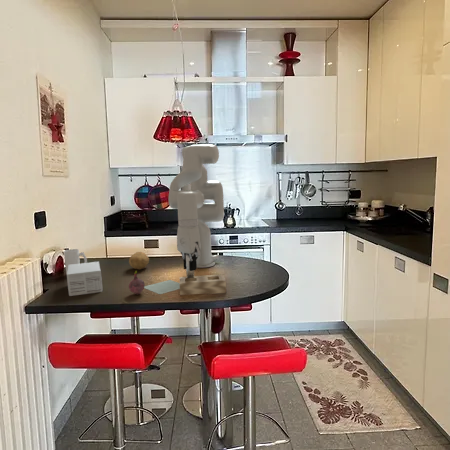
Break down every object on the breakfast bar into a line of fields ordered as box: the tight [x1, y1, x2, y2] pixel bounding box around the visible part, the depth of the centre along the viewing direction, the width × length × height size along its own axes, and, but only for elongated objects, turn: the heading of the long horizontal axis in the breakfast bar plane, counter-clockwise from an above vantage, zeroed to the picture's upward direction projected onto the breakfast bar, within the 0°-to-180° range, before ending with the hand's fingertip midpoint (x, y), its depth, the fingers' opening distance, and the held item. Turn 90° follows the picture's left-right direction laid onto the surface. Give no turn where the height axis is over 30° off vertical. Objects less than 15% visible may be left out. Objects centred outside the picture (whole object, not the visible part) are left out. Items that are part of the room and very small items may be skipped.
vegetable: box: [128, 270, 146, 295], centre depth 149 cm, size 6×6×10 cm
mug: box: [63, 248, 88, 275], centre depth 183 cm, size 10×7×12 cm, turn 98°
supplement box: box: [66, 261, 103, 297], centre depth 161 cm, size 17×13×9 cm
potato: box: [128, 251, 150, 271], centre depth 190 cm, size 10×14×8 cm
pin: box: [185, 253, 195, 278], centre depth 150 cm, size 3×3×10 cm
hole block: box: [179, 273, 227, 296], centre depth 152 cm, size 18×9×5 cm, turn 97°
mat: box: [144, 279, 180, 295], centre depth 158 cm, size 14×14×1 cm
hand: (190, 269), depth 151 cm, fingers closed on pin, 3 cm apart
